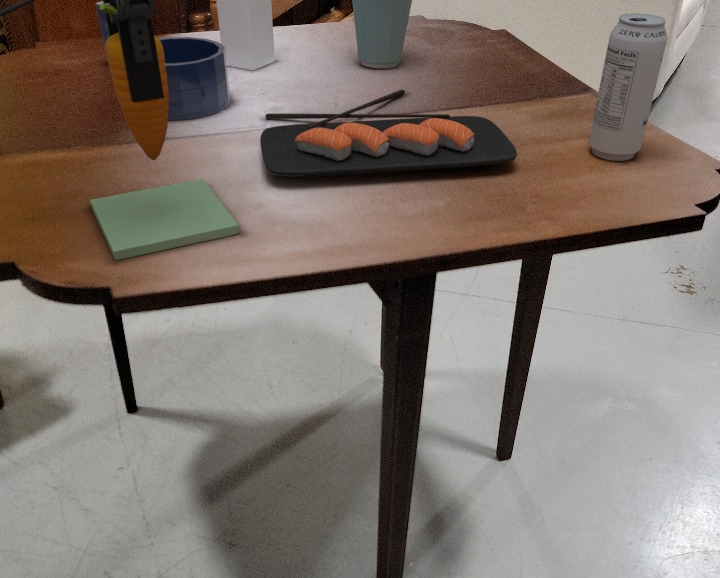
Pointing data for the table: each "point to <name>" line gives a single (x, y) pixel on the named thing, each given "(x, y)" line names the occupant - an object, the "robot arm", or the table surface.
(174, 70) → the pot
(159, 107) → the carrot
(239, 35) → the milk
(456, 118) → the sushi plate
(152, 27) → the robot arm
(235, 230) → the mat
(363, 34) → the disposable coffee cup
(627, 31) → the energy drink can
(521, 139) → the table surface
